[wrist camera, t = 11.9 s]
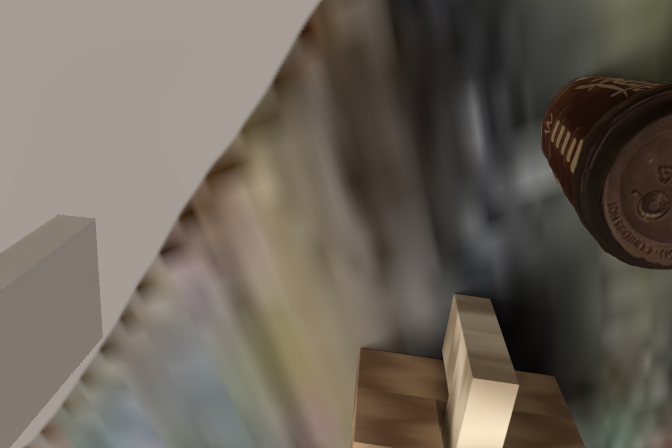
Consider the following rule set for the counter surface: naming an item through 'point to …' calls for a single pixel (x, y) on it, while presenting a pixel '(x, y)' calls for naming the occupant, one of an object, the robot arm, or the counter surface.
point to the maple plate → (476, 377)
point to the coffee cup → (616, 163)
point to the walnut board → (431, 400)
